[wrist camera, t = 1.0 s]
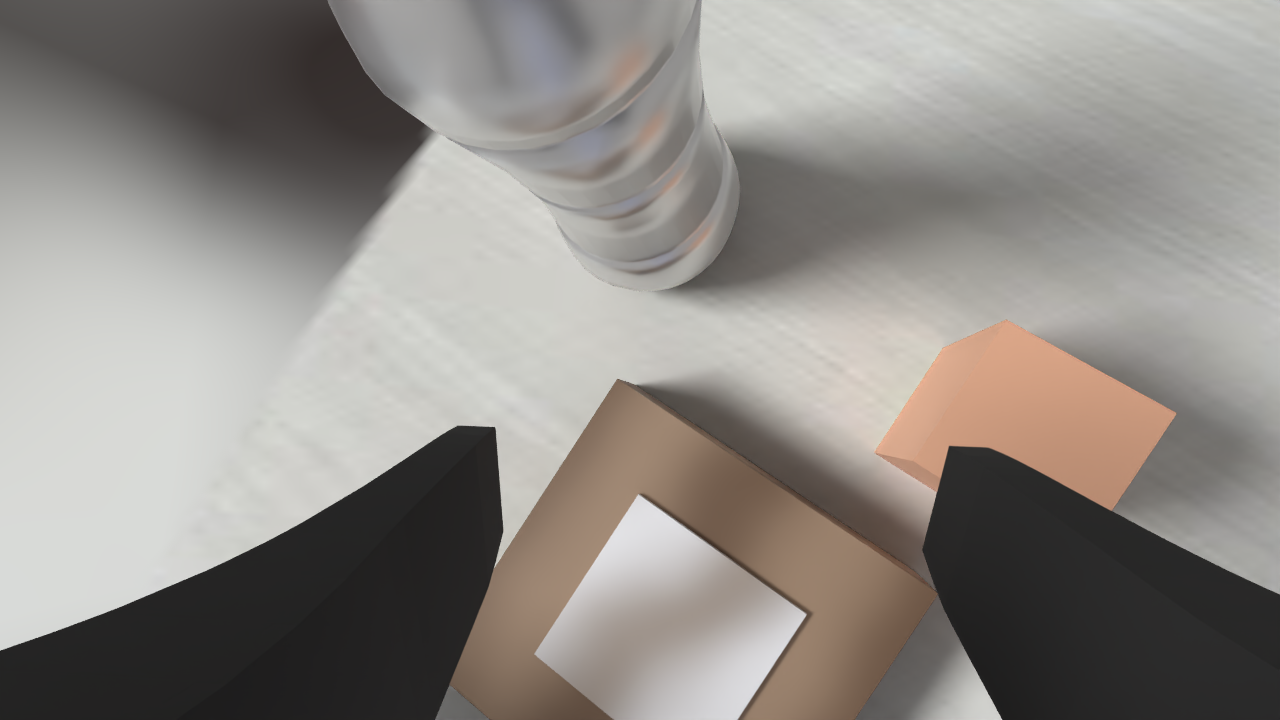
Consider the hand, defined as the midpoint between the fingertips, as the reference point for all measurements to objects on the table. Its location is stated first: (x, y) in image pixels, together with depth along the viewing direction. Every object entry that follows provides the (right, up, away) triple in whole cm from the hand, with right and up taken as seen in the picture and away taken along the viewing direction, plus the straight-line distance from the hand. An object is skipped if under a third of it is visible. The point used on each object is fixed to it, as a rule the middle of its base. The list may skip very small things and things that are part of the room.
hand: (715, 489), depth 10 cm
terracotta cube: (+10, -1, +12) cm, 16 cm away
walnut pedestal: (0, -7, +13) cm, 15 cm away
